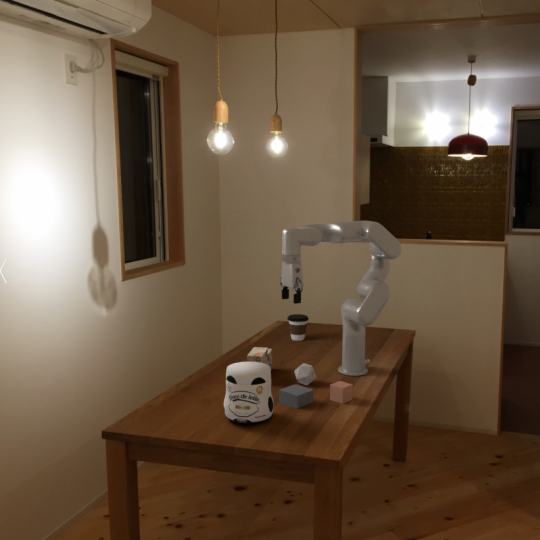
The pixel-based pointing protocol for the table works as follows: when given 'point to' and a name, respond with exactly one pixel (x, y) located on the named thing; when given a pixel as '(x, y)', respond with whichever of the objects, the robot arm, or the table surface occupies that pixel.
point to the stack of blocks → (260, 356)
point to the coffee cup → (297, 326)
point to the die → (305, 374)
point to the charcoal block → (296, 396)
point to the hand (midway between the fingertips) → (291, 301)
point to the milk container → (248, 392)
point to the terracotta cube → (341, 392)
